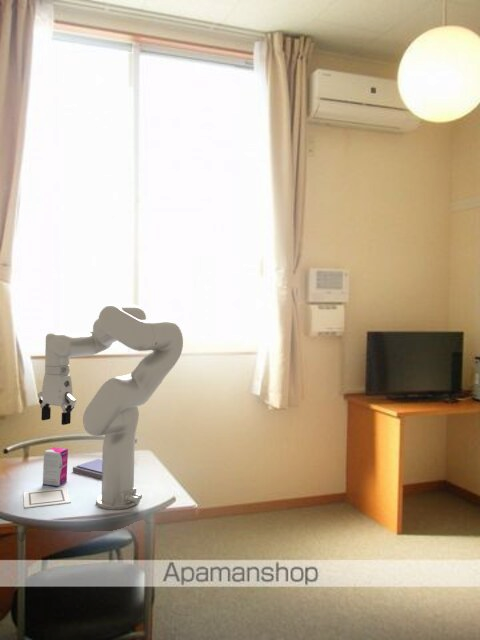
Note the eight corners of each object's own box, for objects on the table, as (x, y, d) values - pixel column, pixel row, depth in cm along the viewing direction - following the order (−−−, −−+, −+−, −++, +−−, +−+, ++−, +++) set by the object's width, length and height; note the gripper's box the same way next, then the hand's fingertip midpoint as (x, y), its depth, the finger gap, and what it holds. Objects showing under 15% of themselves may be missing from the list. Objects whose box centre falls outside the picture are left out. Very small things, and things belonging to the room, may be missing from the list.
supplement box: (58, 487, 175) (59, 452, 175) (42, 485, 176) (42, 451, 176) (67, 481, 181) (68, 448, 181) (51, 480, 182) (52, 446, 182)
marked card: (70, 502, 163) (70, 501, 163) (24, 508, 157) (24, 506, 157) (66, 488, 175) (66, 487, 174) (23, 493, 169) (23, 491, 169)
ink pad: (125, 470, 195) (125, 464, 195) (101, 479, 184) (101, 473, 184) (97, 463, 202) (98, 457, 202) (72, 471, 192) (72, 465, 191)
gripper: (84, 372, 176) (82, 423, 177) (48, 366, 185) (47, 416, 186) (66, 374, 170) (64, 428, 170) (30, 368, 179) (29, 420, 179)
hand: (55, 421), depth 178 cm, fingers open, 9 cm apart
